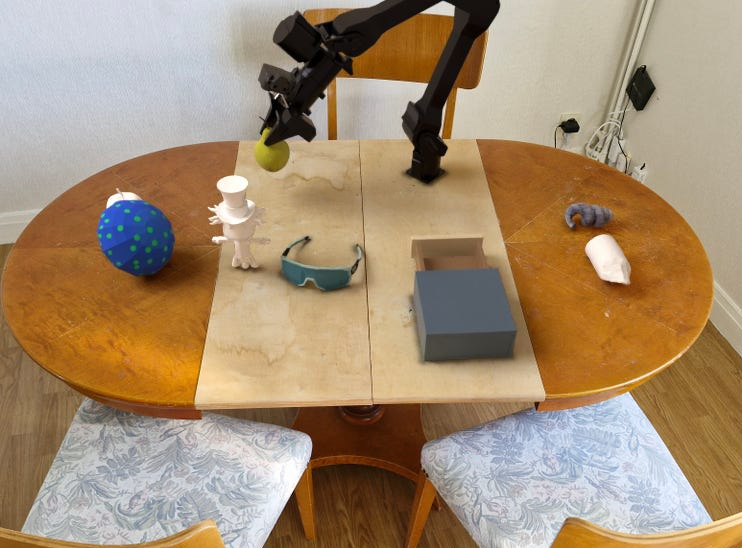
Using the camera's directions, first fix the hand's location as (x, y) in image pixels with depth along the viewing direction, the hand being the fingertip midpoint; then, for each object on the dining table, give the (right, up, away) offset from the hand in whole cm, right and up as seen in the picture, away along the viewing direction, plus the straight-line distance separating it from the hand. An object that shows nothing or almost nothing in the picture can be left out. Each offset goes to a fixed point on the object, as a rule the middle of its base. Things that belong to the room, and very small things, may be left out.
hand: (263, 139), depth 134 cm
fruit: (+1, -4, +5) cm, 7 cm away
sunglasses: (+12, -25, -5) cm, 28 cm away
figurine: (-2, -26, -6) cm, 27 cm away
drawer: (+36, -27, -7) cm, 45 cm away
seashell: (+65, -16, +6) cm, 67 cm away
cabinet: (+37, -37, -15) cm, 54 cm away
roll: (+65, -27, -5) cm, 71 cm away
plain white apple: (-27, -16, +3) cm, 31 cm away
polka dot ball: (-21, -25, -6) cm, 34 cm away
